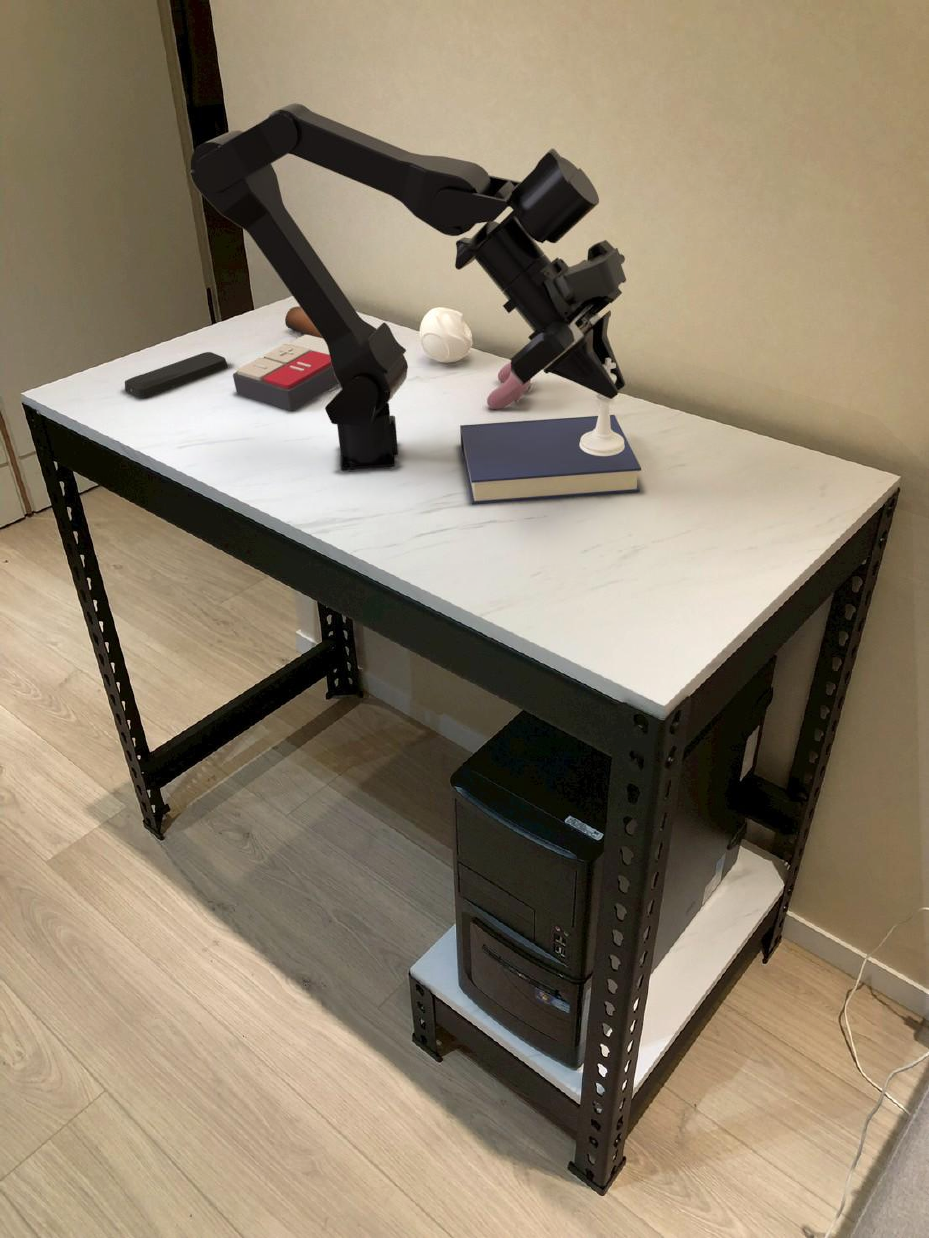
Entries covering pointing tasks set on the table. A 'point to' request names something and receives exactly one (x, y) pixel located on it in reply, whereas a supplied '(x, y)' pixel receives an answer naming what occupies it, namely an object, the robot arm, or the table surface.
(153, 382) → the remote control
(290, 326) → the sunglasses case
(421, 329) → the white ball
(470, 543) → the table surface
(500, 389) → the video game controller
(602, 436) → the chess piece
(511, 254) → the robot arm
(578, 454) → the blue book
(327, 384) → the calculator
